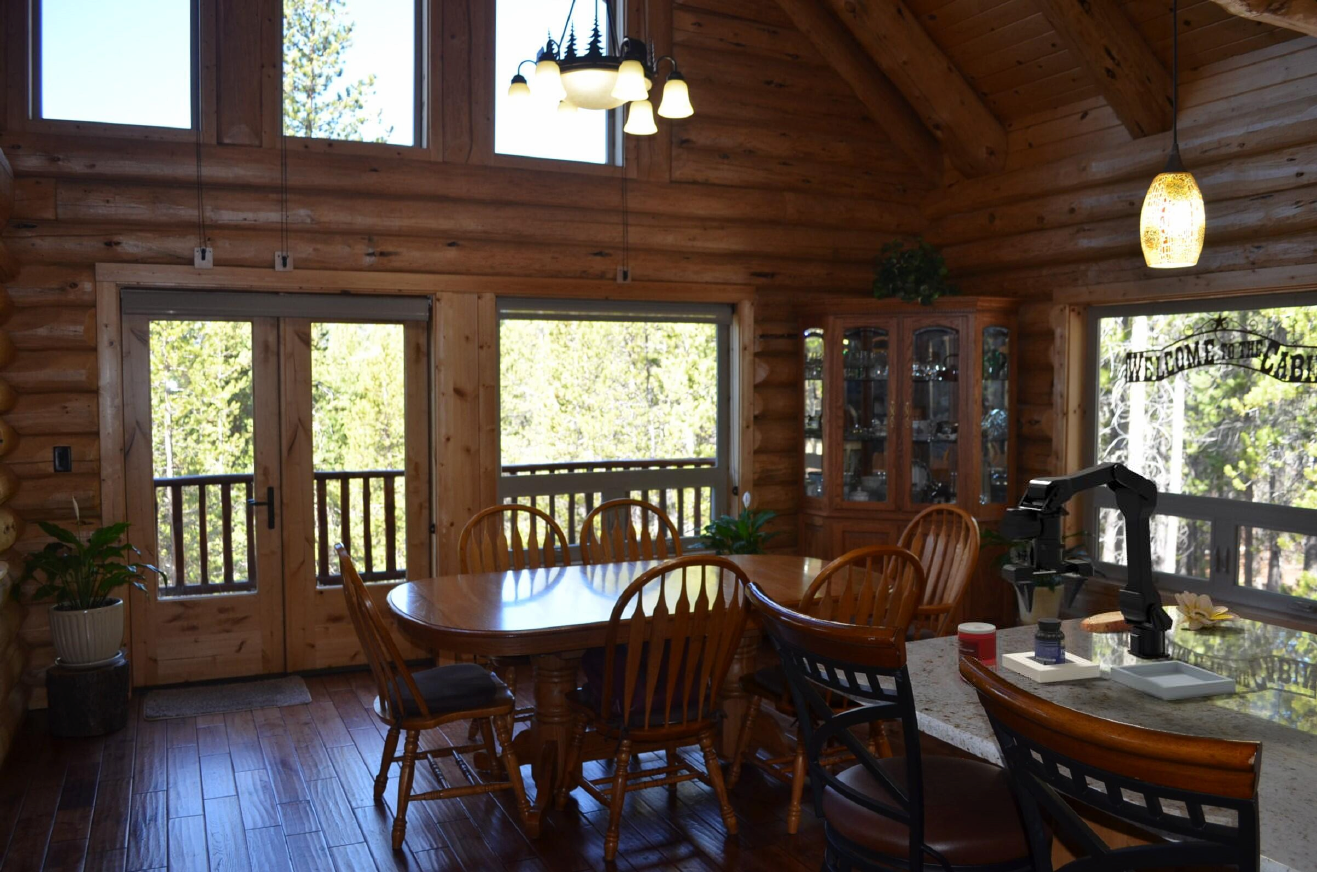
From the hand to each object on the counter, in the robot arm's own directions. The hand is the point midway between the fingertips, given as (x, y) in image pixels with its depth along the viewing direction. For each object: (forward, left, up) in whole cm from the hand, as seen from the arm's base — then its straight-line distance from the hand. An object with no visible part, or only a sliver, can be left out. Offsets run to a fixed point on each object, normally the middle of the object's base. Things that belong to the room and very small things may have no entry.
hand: (1048, 610), depth 221 cm
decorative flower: (-57, -22, -13) cm, 62 cm away
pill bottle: (0, 0, -13) cm, 13 cm away
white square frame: (0, 0, -13) cm, 13 cm away
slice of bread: (-40, -30, -14) cm, 52 cm away
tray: (-16, +17, -13) cm, 27 cm away
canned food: (+17, 0, -13) cm, 21 cm away
